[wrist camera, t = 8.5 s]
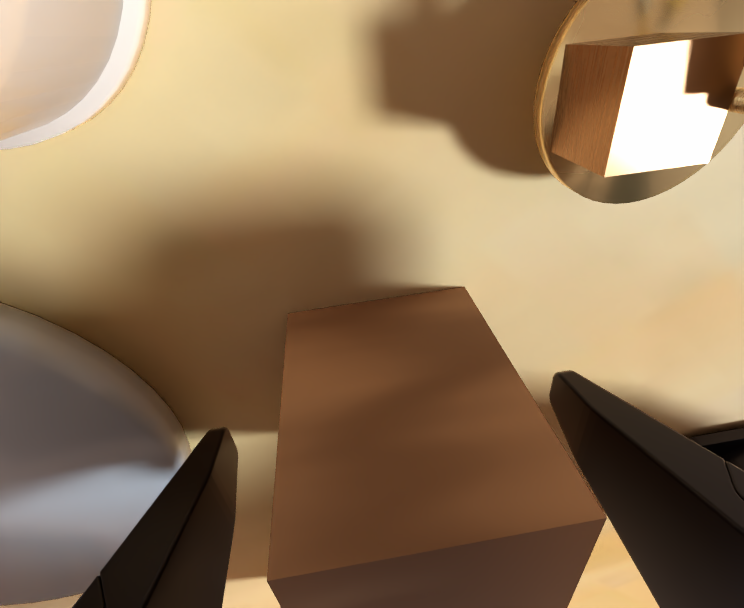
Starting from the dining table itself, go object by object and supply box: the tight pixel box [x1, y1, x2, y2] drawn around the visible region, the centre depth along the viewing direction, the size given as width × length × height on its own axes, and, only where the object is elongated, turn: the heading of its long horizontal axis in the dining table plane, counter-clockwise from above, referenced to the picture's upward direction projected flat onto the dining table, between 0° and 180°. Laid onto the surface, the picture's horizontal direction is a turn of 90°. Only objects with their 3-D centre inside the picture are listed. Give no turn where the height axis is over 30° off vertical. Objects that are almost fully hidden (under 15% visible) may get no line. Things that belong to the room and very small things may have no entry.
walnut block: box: [267, 287, 606, 608], centre depth 9 cm, size 4×4×6 cm
